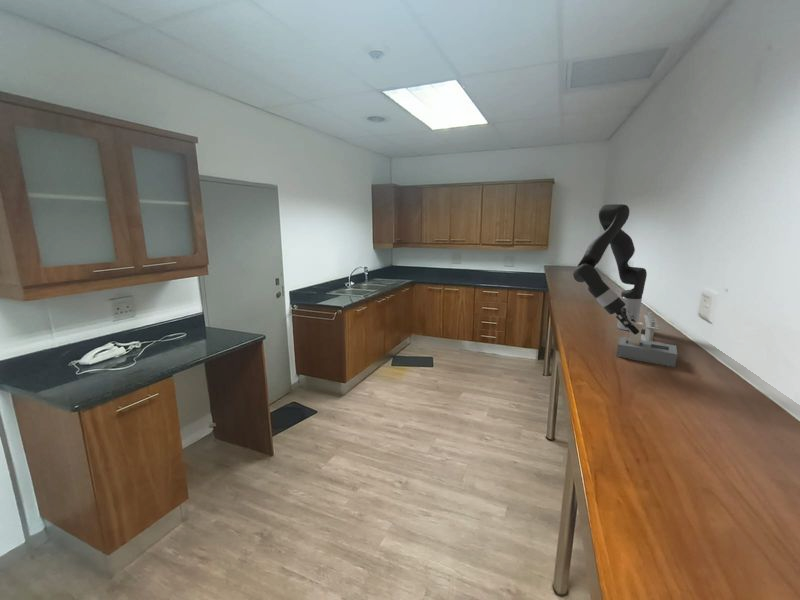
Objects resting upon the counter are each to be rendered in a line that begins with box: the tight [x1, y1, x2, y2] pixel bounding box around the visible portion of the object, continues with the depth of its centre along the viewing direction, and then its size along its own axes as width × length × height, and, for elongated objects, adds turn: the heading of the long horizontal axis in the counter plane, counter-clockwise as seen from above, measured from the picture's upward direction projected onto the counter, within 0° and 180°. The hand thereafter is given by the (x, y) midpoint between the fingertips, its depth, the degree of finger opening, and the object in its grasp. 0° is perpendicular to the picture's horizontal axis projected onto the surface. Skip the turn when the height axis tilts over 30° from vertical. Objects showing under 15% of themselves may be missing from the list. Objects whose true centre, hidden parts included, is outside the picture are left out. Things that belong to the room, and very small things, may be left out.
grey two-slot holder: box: [615, 336, 678, 368], centre depth 147 cm, size 12×20×6 cm, turn 53°
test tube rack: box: [640, 311, 660, 342], centre depth 163 cm, size 25×4×13 cm, turn 148°
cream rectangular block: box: [628, 321, 643, 345], centre depth 149 cm, size 3×4×13 cm
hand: (637, 330), depth 148 cm, fingers open, 8 cm apart
